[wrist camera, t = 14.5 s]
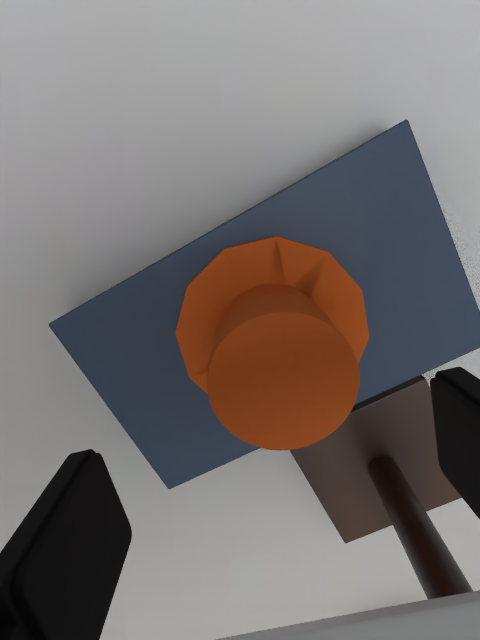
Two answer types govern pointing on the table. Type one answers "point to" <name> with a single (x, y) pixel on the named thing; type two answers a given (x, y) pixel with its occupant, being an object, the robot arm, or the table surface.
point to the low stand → (308, 228)
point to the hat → (275, 341)
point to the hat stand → (388, 480)
